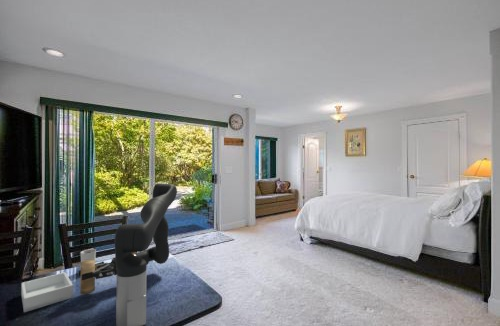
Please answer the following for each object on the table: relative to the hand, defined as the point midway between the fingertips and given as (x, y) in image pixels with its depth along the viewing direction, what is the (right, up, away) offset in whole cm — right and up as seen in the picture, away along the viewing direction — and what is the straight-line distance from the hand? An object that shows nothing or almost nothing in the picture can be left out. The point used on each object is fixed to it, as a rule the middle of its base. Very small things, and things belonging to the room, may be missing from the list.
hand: (80, 275), depth 99 cm
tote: (-14, -9, +1) cm, 17 cm away
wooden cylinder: (+2, -7, +2) cm, 8 cm away
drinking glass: (-14, -10, +26) cm, 31 cm away
